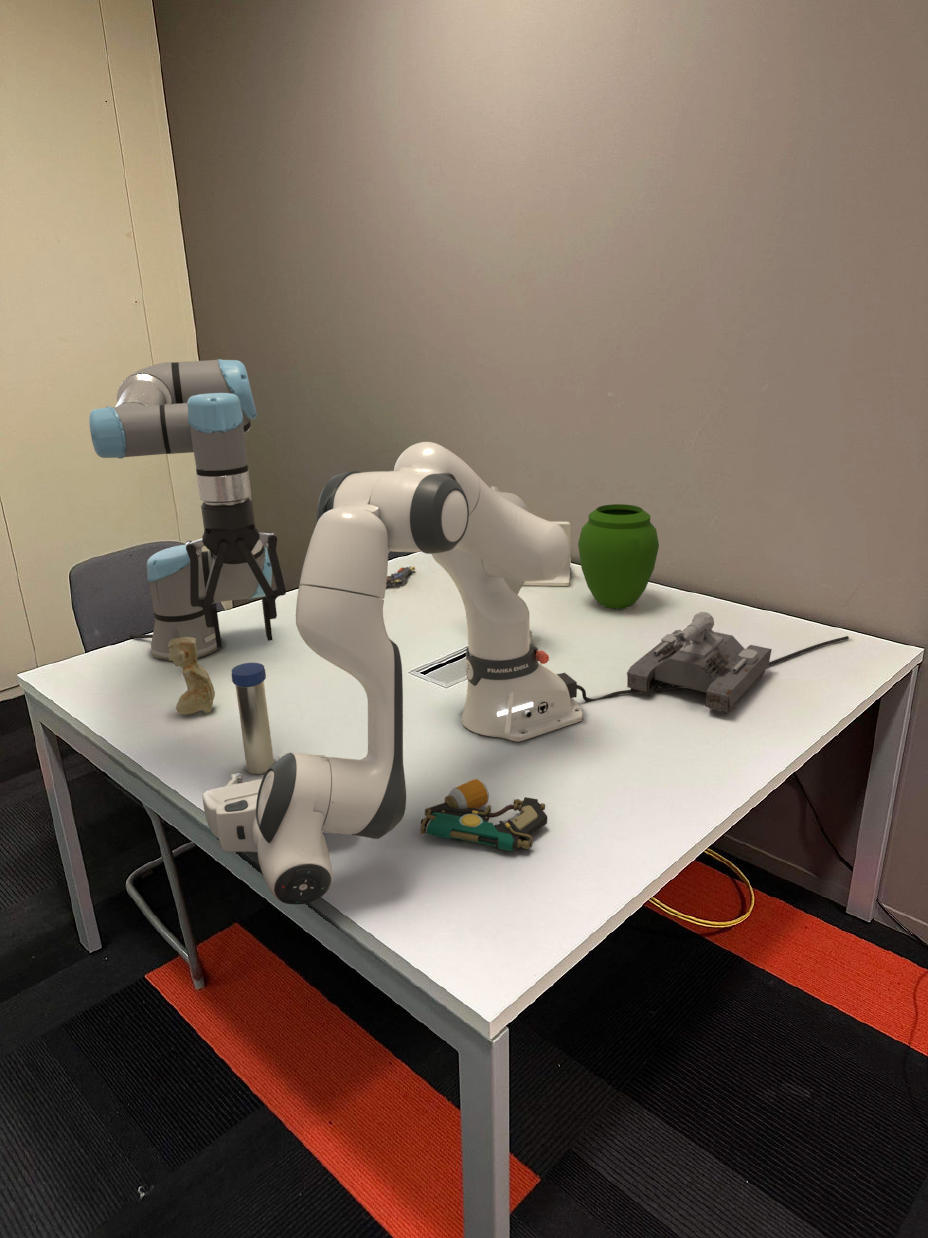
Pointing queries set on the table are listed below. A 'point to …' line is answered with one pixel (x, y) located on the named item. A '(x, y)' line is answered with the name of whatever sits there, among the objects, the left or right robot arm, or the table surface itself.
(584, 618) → the table surface
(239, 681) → the lid
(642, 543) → the vase
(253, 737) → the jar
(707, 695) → the toy
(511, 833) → the spray gun
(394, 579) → the toy gun
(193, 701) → the sculpture
